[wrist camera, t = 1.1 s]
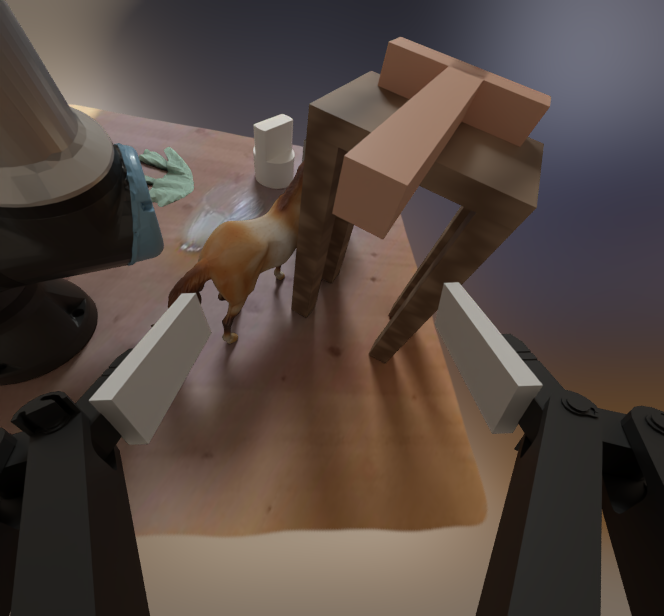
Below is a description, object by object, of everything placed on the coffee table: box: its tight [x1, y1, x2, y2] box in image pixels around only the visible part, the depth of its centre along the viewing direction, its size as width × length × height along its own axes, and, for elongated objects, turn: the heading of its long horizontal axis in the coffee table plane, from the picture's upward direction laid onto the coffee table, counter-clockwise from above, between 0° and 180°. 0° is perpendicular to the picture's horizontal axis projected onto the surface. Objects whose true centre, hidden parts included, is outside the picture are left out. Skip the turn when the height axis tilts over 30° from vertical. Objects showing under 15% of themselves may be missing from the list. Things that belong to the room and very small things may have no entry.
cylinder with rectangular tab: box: [253, 114, 294, 189], centre depth 59 cm, size 9×9×12 cm
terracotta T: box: [332, 37, 551, 239], centre depth 18 cm, size 14×22×3 cm, turn 151°
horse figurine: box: [151, 161, 304, 343], centre depth 37 cm, size 31×8×21 cm, turn 141°
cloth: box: [139, 147, 194, 207], centre depth 57 cm, size 20×22×2 cm
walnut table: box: [291, 71, 544, 363], centre depth 35 cm, size 18×12×30 cm, turn 61°
